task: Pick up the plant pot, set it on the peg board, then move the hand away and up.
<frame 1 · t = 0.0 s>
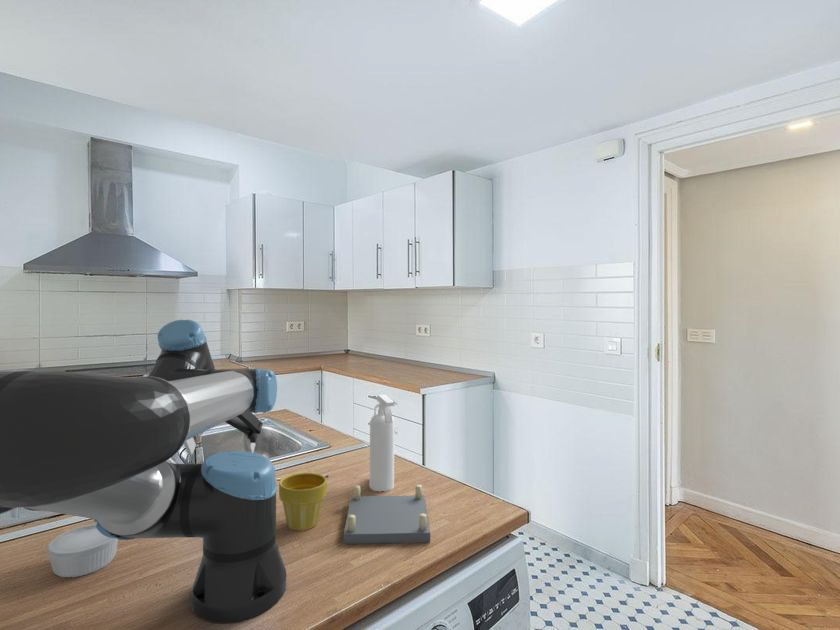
hand: (222, 449, 106), 15 cm above the worktop, tool tilted 35°, fingers open, 13 cm apart
ramekin: (85, 565, 87), on the worktop
white spray bottle: (380, 486, 124), on the worktop
peg board: (387, 521, 104), on the worktop
plant pot: (303, 524, 103), on the worktop
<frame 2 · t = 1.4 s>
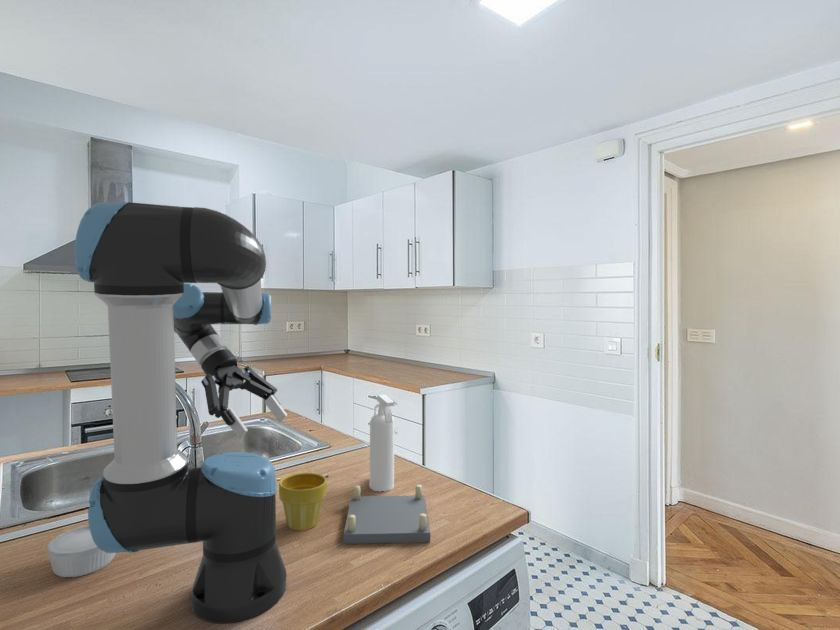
hand: (264, 426, 106), 21 cm above the worktop, tool tilted 45°, fingers open, 13 cm apart
nothing on the worktop moved.
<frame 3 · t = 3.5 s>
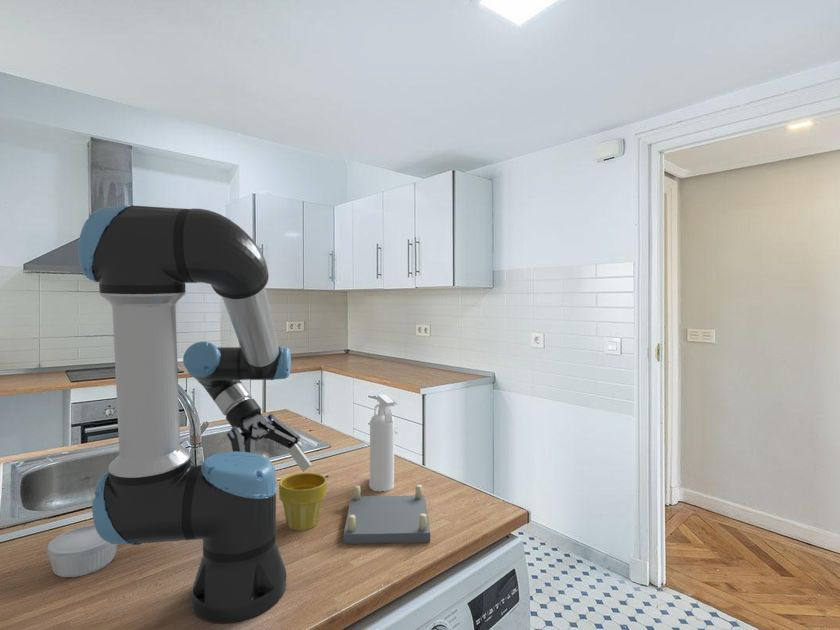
hand: (290, 478, 106), 9 cm above the worktop, tool tilted 45°, fingers open, 13 cm apart
nothing on the worktop moved.
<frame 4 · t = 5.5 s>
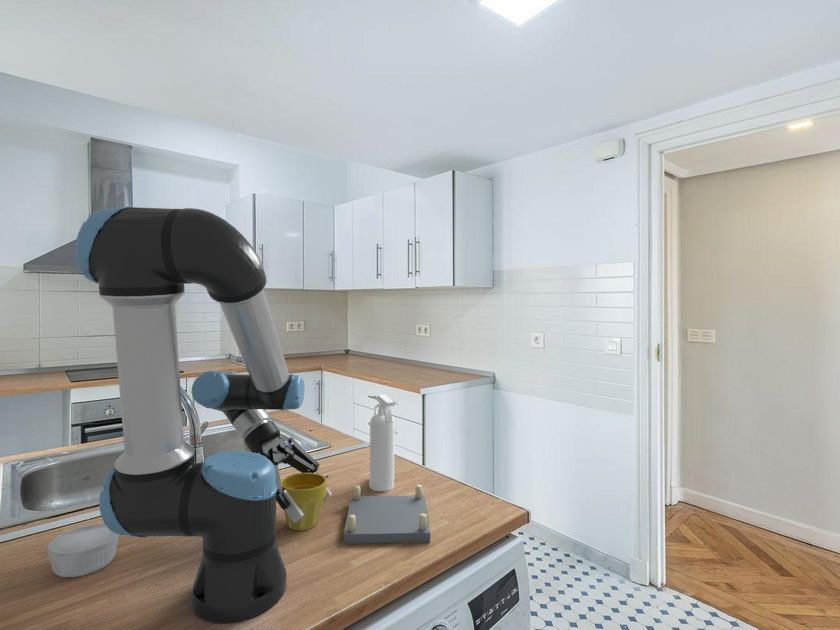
hand: (314, 508, 102), 4 cm above the worktop, tool tilted 45°, fingers closed on plant pot, 10 cm apart
plant pot: (303, 524, 103), on the worktop, touching gripper
everything else where it was.
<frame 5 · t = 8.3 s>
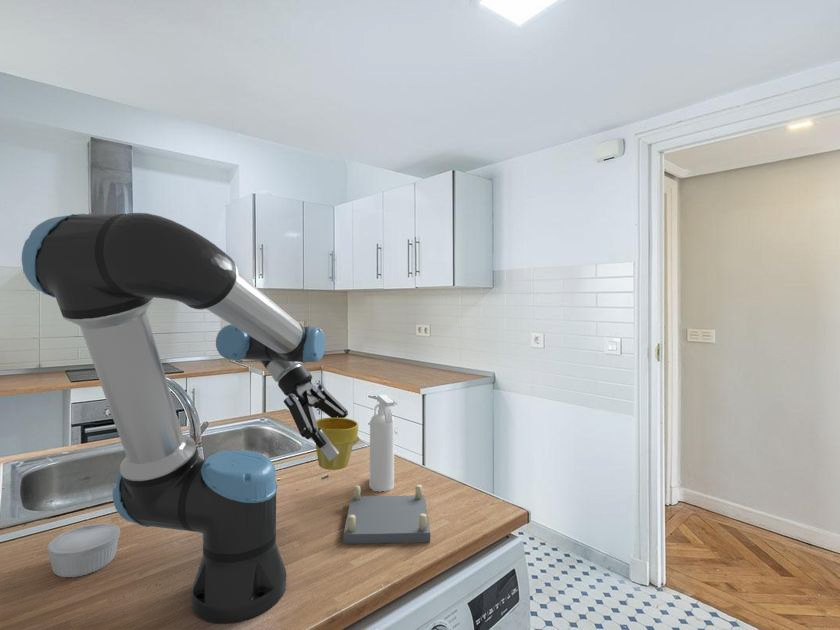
hand: (346, 449, 105), 16 cm above the worktop, tool tilted 45°, fingers closed on plant pot, 10 cm apart
plant pot: (333, 465, 106), point 12 cm above the worktop, touching gripper
everything else where it was.
when the fingers open (7 cm above the worktop, at t = 11.4 s): plant pot stays where it is, resting on peg board.
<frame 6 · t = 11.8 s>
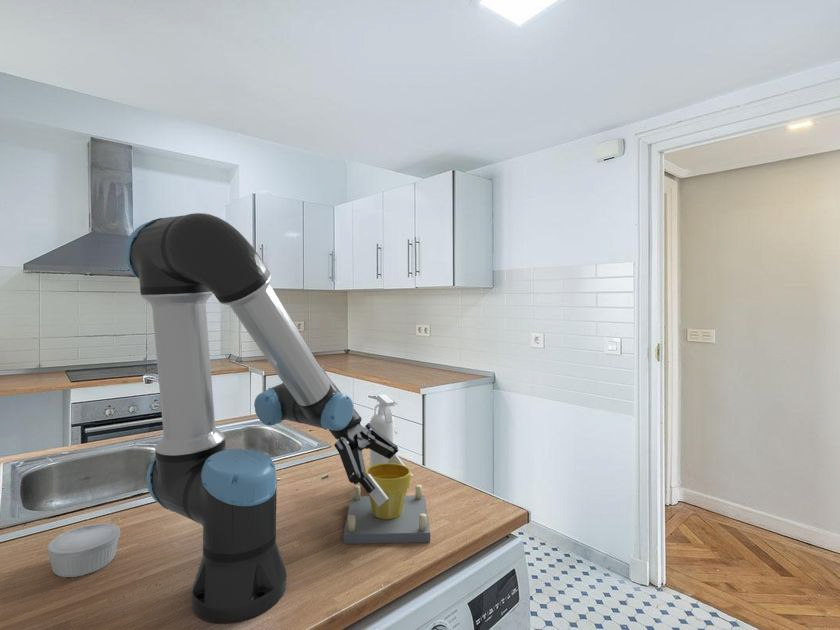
hand: (397, 490, 103), 8 cm above the worktop, tool tilted 45°, fingers open, 13 cm apart
plant pot: (387, 513, 104), point 2 cm above the worktop, touching peg board
everything else where it was.
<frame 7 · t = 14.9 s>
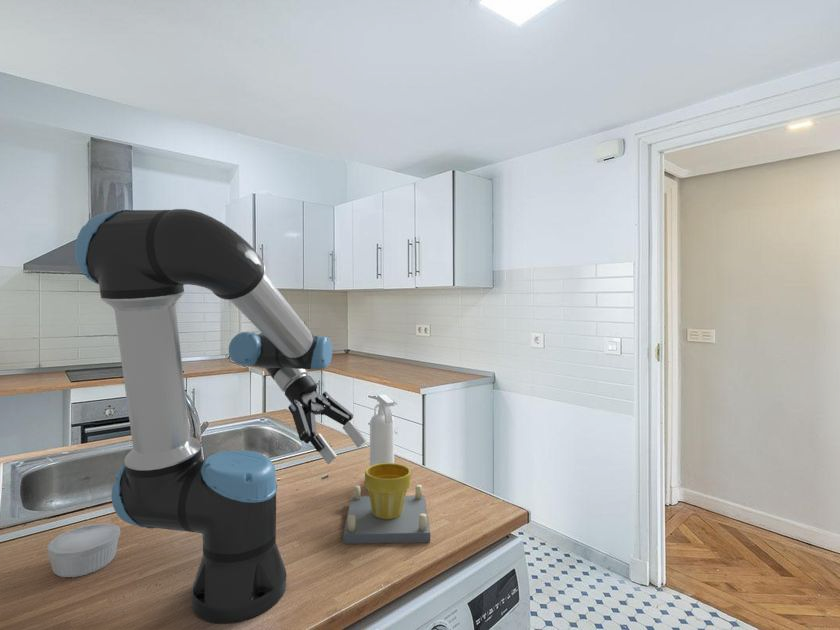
hand: (348, 451, 108), 14 cm above the worktop, tool tilted 45°, fingers open, 13 cm apart
nothing on the worktop moved.
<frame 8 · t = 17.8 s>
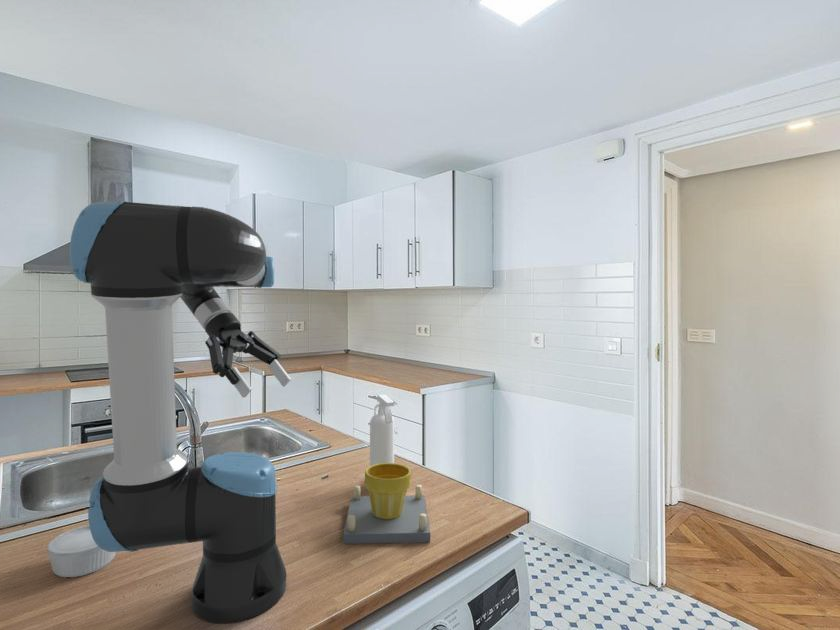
hand: (268, 388, 106), 30 cm above the worktop, tool tilted 45°, fingers open, 13 cm apart
nothing on the worktop moved.
at the end: plant pot 0.3 cm off-centre on the peg board, point 1.8 cm above the peg board's base; plant pot tilted 0°; the gripper is holding nothing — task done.
